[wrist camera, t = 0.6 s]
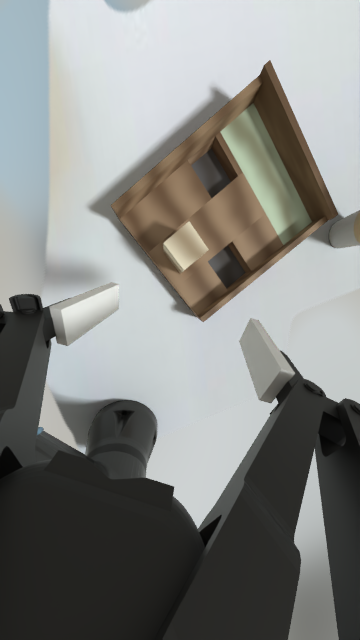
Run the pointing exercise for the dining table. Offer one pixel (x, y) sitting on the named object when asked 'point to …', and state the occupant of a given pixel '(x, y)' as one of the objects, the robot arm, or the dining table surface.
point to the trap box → (231, 196)
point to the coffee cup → (346, 231)
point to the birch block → (184, 247)
